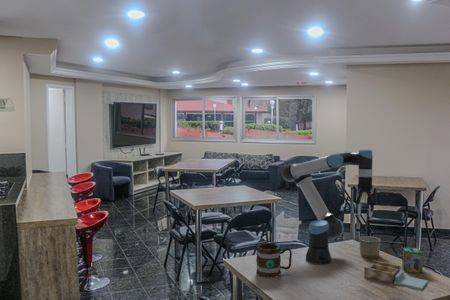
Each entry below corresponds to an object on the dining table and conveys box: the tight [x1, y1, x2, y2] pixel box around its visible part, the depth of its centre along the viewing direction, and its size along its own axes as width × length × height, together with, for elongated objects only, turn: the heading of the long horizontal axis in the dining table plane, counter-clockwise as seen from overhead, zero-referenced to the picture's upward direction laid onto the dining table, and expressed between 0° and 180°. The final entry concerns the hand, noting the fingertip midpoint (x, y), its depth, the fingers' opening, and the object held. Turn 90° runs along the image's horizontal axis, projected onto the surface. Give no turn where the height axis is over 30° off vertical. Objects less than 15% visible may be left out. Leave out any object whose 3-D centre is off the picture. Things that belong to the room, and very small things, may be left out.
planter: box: [358, 235, 381, 259], centre depth 241 cm, size 13×13×10 cm
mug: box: [256, 242, 293, 279], centre depth 213 cm, size 20×14×15 cm
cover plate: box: [393, 269, 429, 291], centre depth 199 cm, size 13×12×4 cm
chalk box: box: [401, 242, 424, 274], centre depth 216 cm, size 9×9×15 cm
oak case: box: [363, 259, 401, 284], centre depth 208 cm, size 14×14×5 cm
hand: (364, 215), depth 224 cm, fingers open, 6 cm apart
